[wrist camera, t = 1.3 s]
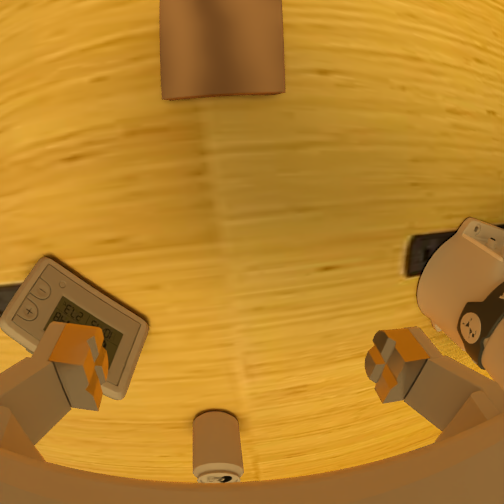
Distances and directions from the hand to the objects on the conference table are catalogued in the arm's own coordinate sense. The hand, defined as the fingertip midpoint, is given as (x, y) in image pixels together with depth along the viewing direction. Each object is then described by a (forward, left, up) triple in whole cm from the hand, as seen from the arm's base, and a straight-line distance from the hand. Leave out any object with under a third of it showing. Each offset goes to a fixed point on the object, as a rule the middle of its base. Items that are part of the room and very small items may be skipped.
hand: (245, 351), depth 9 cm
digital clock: (+17, +14, -25) cm, 34 cm away
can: (+3, +39, -25) cm, 47 cm away
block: (0, -13, -25) cm, 28 cm away
